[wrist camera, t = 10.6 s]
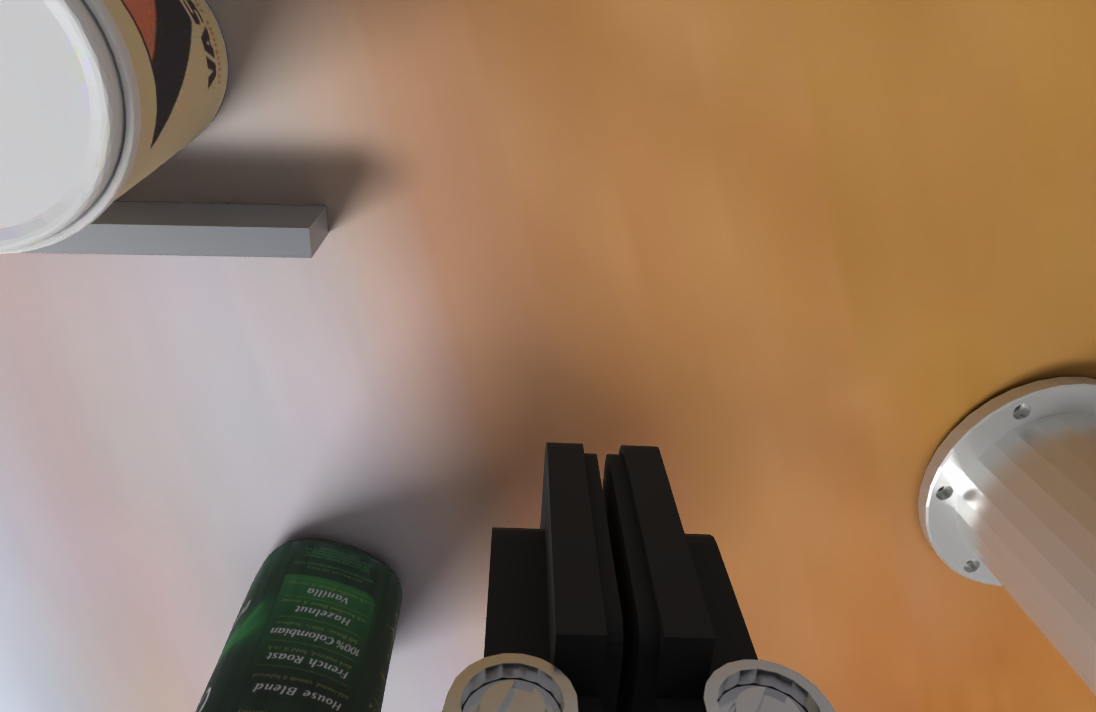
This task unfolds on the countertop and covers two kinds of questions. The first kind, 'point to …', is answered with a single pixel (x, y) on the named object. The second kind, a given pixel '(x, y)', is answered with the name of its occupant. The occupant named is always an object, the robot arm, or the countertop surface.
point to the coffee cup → (96, 104)
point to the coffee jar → (310, 634)
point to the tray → (200, 230)
